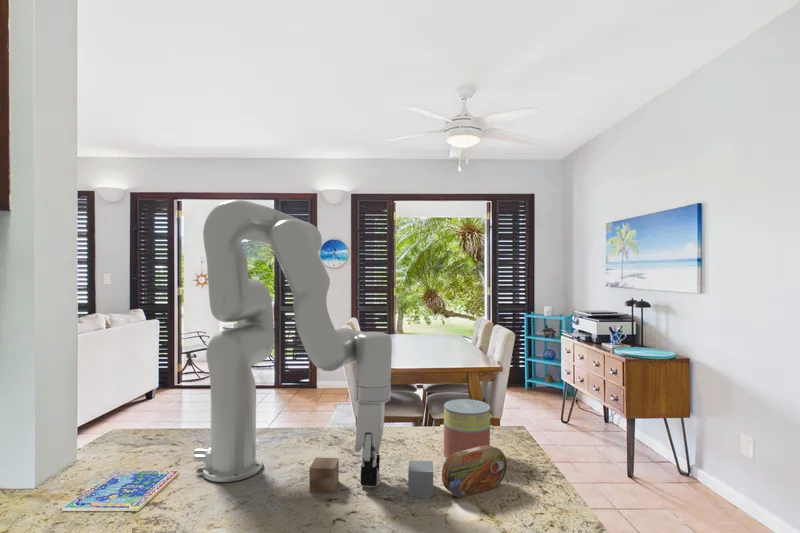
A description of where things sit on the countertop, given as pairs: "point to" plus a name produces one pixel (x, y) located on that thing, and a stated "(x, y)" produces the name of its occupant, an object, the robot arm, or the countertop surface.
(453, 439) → the canned food
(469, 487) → the tin
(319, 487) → the walnut block
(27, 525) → the countertop surface
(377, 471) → the rook chess piece
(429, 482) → the medium-grey block
